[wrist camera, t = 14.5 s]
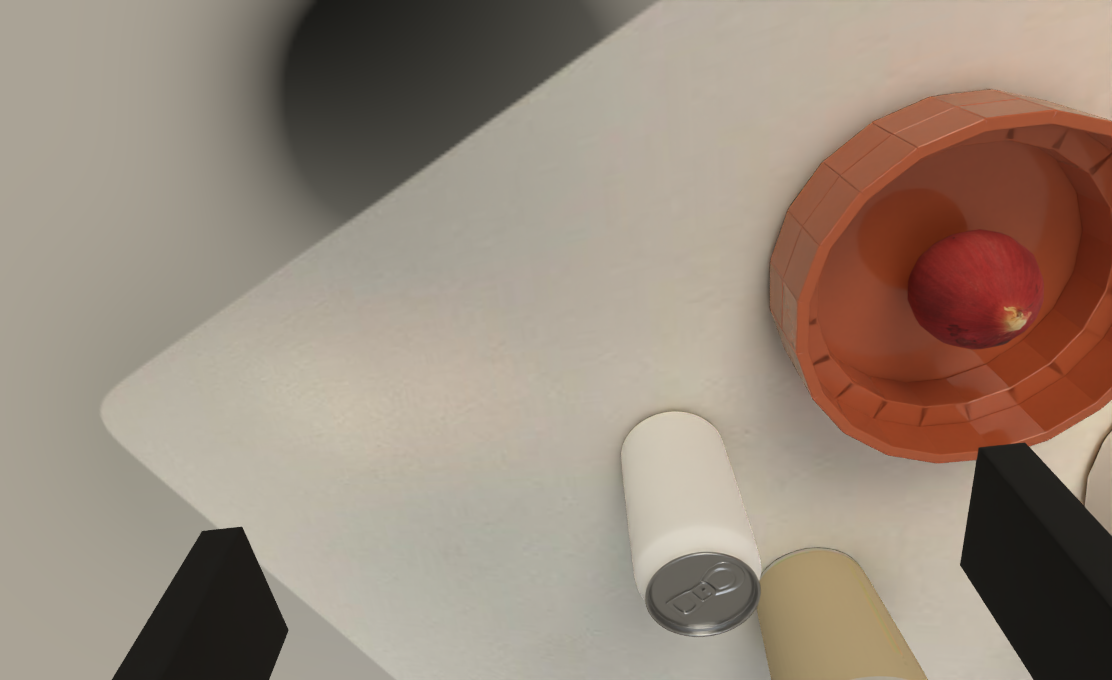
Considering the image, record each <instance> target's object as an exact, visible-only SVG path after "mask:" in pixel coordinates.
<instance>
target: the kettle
mask: <svg viewBox="0 0 1112 680" xmlns="http://www.w3.org/2000/svg"><path fill="white" fill-rule="evenodd" d="M1085 508H1086V509H1087V510H1088V511H1089V512H1090V513H1091V514H1092V515H1093V516H1094V517H1095V518H1096V519H1097V520H1098V522H1099V523H1100V524H1101V525H1102V526H1103V527H1104V528H1105V529H1106V530H1107V531H1108V532H1109V533H1110V534H1111V536H1112V431H1111V432H1110V433H1109V435H1108V436H1107V437H1106V438H1105V440H1104V442H1103V444H1102V446H1101V449H1100V451H1099V453H1098V455H1097V458H1096V460H1095V462H1094V465H1093V467H1092V469H1091V471H1090V474H1089V476H1088V481H1087V491H1086V500H1085Z"/></svg>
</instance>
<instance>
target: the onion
mask: <svg viewBox="0 0 1112 680" xmlns="http://www.w3.org/2000/svg"><path fill="white" fill-rule="evenodd" d="M1043 301H1044V280H1043V276H1042V274H1041V271H1040V269H1039V266H1038V264H1037V261H1036V259H1035V256H1034V254H1032V253H1031V252H1030V251H1029V250H1028V249H1027V248H1026V247H1024V246H1023V245H1021V244H1020V243H1019V242H1017V241H1016V240H1015V239H1013V238H1012V237H1010V236H1008V235H1005V234H1003V233H1000V232H995V231H989V230H983V229H977V230H972V231H967V232H961V233H956V234H952V235H950V236H948V237H946V238H944V239H942V240H940V241H938V242H936V243H934V244H933V245H932V246H931V247H930V248H929V249H928V250H926V251H925V252H924V253H923V254H922V255H921V256H920V257H919V258H918V260H917V262H916V264H915V266H914V268H913V269H912V271H911V273H910V276H909V280H908V302H909V304H910V307H911V309H912V311H913V314H914V316H915V318H916V320H917V321H918V323H919V325H920V326H921V327H923V328H924V329H925V330H927V331H928V332H929V333H930V334H932V335H933V336H934V337H935V338H937V339H938V340H940V341H941V342H943V343H946V344H949V345H953V346H958V347H963V348H968V349H973V350H974V349H985V348H990V347H995V346H1001V345H1004V344H1006V343H1008V342H1009V341H1011V340H1012V339H1014V338H1015V337H1017V336H1018V335H1020V334H1021V333H1023V332H1025V331H1026V329H1027V328H1028V327H1029V326H1030V325H1031V324H1032V323H1033V322H1034V321H1035V320H1036V318H1037V315H1038V313H1039V311H1040V309H1041V306H1042V304H1043Z"/></svg>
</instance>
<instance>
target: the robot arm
mask: <svg viewBox="0 0 1112 680" xmlns="http://www.w3.org/2000/svg"><path fill="white" fill-rule="evenodd" d="M960 566H961V567H962V569H963V570H964V572H965V573H966V575H967V577H968V578H969V580H970V581H971V583H972V584H973V586H974V587H975V589H976V591H977V592H978V594H979V595H980V597H981V598H982V600H983V601H984V603H985V605H986V606H987V608H988V609H989V611H990V612H991V614H992V615H993V617H994V619H995V620H996V622H997V623H998V625H999V626H1000V628H1001V630H1002V631H1003V633H1004V634H1005V636H1006V637H1007V639H1008V640H1009V642H1010V644H1011V645H1012V647H1013V648H1014V650H1015V651H1016V653H1017V654H1018V656H1019V658H1020V659H1021V661H1022V662H1023V664H1024V665H1025V667H1026V668H1027V670H1028V672H1029V673H1030V675H1031V676H1032V678H1033V679H1034V680H1112V536H1111V534H1110V533H1109V532H1108V531H1107V530H1106V529H1105V528H1104V527H1103V526H1102V525H1101V524H1100V523H1099V522H1098V520H1097V519H1096V518H1095V517H1094V516H1093V515H1092V514H1091V513H1090V512H1089V511H1088V510H1087V509H1086V508H1085V506H1084V505H1083V504H1082V503H1081V502H1080V501H1079V500H1078V499H1077V498H1076V497H1075V496H1074V495H1073V494H1072V492H1071V491H1070V490H1069V489H1068V488H1067V487H1066V486H1065V485H1064V484H1063V483H1062V482H1061V481H1060V480H1059V478H1058V477H1057V476H1056V475H1055V474H1054V473H1053V472H1052V471H1051V470H1050V469H1049V468H1048V467H1047V466H1046V464H1045V463H1044V462H1043V461H1042V460H1041V459H1040V458H1039V457H1038V456H1037V455H1036V454H1035V453H1034V452H1033V450H1032V449H1031V448H1030V447H1029V446H1028V445H1027V444H1026V443H1025V442H1024V443H1014V444H1005V445H996V446H986V447H979V448H978V455H977V461H976V467H975V474H974V480H973V486H972V493H971V499H970V505H969V512H968V518H967V525H966V531H965V537H964V544H963V550H962V556H961V563H960ZM287 633H288V628H287V626H286V623H285V621H284V619H283V617H282V614H281V612H280V610H279V608H278V605H277V603H276V601H275V599H274V597H273V594H272V592H271V590H270V588H269V585H268V583H267V581H266V579H265V577H264V574H263V572H262V570H261V568H260V565H259V563H258V561H257V559H256V557H255V554H254V552H253V550H252V548H251V545H250V543H249V541H248V539H247V536H246V534H245V532H244V530H243V528H242V527H235V528H226V529H216V530H208V531H202V532H201V534H200V536H199V537H198V539H197V541H196V542H195V544H194V546H193V547H192V549H191V550H190V552H189V554H188V555H187V557H186V559H185V560H184V562H183V564H182V565H181V567H180V569H179V570H178V572H177V573H176V575H175V577H174V578H173V580H172V582H171V583H170V585H169V587H168V588H167V590H166V591H165V593H164V595H163V597H162V598H161V600H160V601H159V603H158V605H157V606H156V608H155V610H154V611H153V613H152V615H151V616H150V618H149V619H148V621H147V623H146V625H145V626H144V628H143V629H142V631H141V633H140V634H139V636H138V638H137V639H136V641H135V642H134V644H133V646H132V647H131V649H130V651H129V652H128V654H127V656H126V657H125V659H124V661H123V662H122V664H121V666H120V667H119V669H118V670H117V672H116V674H115V675H114V677H113V679H112V680H269V678H270V676H271V673H272V671H273V668H274V666H275V663H276V661H277V658H278V656H279V653H280V651H281V648H282V646H283V643H284V641H285V638H286V635H287Z"/></svg>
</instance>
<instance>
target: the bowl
mask: <svg viewBox="0 0 1112 680" xmlns="http://www.w3.org/2000/svg"><path fill="white" fill-rule="evenodd" d="M788 210H789V211H787V214H786V217H785V219H784V222H783V225H782V228H781V231H780V234H779V237H778V240H777V242H776V245H775V248H774V251H773V254H772V257H771V261H770V311H771V314H772V316H773V319H774V322H775V325H776V327H777V330H778V333H779V335H780V338H781V341H782V343H783V346H784V349H785V351H786V352H787V354H788V356H789V358H790V360H791V361H792V363H793V365H794V367H795V369H796V370H797V372H798V374H799V376H800V377H801V379H802V381H803V383H804V385H805V386H806V388H807V390H808V392H809V394H810V395H811V397H812V399H813V400H814V401H815V402H816V403H817V405H818V406H819V407H820V408H821V409H822V410H823V411H824V412H825V413H826V414H827V415H828V417H829V418H830V419H831V420H832V421H833V422H834V423H835V424H836V425H837V426H838V428H839V429H840V430H841V431H842V432H844V433H845V434H847V435H849V436H850V437H852V438H854V439H856V440H858V441H860V442H862V443H864V444H866V445H868V446H870V447H872V448H874V449H876V450H878V451H880V452H882V453H884V454H886V455H889V456H895V457H901V458H907V459H913V460H919V461H925V462H931V463H949V462H960V461H970V460H977V455H978V448H979V447H986V446H996V445H1005V444H1014V443H1024V442H1025V443H1026V444H1027V445H1028V446H1032V445H1035V444H1038V443H1041V442H1044V441H1047V440H1049V439H1051V438H1053V437H1055V436H1056V435H1058V434H1060V433H1062V432H1063V431H1065V430H1067V429H1068V428H1070V427H1072V426H1073V425H1075V424H1077V423H1078V422H1080V421H1082V420H1084V419H1085V418H1087V417H1089V416H1090V415H1092V414H1094V413H1095V412H1097V411H1099V410H1100V409H1102V408H1103V407H1104V406H1105V405H1106V404H1107V403H1109V402H1110V401H1111V400H1112V121H1111V120H1108V119H1105V118H1102V117H1098V116H1095V115H1092V114H1088V113H1085V112H1082V111H1078V110H1075V109H1072V108H1069V107H1065V106H1062V105H1059V104H1056V103H1052V102H1049V101H1046V100H1041V99H1036V98H1032V97H1027V96H1022V95H1018V94H1013V93H1008V92H1003V91H999V90H991V89H987V90H979V91H971V92H963V93H955V94H947V95H939V96H932V97H928V98H926V99H924V100H921V101H919V102H917V103H914V104H912V105H910V106H908V107H905V108H903V109H901V110H898V111H896V112H894V113H891V114H889V115H887V116H885V117H882V118H880V119H878V120H875V121H873V122H872V123H871V124H869V125H868V126H867V127H865V128H864V129H863V130H862V131H860V132H859V133H858V134H857V135H855V136H854V137H853V138H852V139H850V140H849V141H848V142H847V143H845V144H844V145H843V146H842V147H841V148H839V149H838V150H837V151H836V152H834V153H833V154H832V155H831V156H829V157H828V158H827V159H826V160H824V161H823V162H822V163H821V164H820V166H819V167H818V168H817V170H816V171H815V172H814V174H813V175H812V177H811V178H810V179H809V181H808V182H807V184H806V185H805V186H804V188H803V189H802V190H801V192H800V193H799V195H798V196H797V197H796V199H795V200H794V202H793V203H792V204H791V206H790V207H789V209H788ZM977 229H983V230H989V231H995V232H1000V233H1003V234H1005V235H1008V236H1010V237H1012V238H1013V239H1015V240H1016V241H1017V242H1019V243H1020V244H1021V245H1023V246H1024V247H1026V248H1027V249H1028V250H1029V251H1030V252H1031V253H1032V254H1034V256H1035V259H1036V261H1037V264H1038V266H1039V269H1040V271H1041V274H1042V276H1043V280H1044V301H1043V304H1042V306H1041V309H1040V311H1039V313H1038V315H1037V318H1036V320H1035V321H1034V322H1033V323H1032V324H1031V325H1030V326H1029V327H1028V328H1027V329H1026V331H1025V332H1023V333H1021V334H1020V335H1018V336H1017V337H1015V338H1014V339H1012V340H1011V341H1009V342H1008V343H1006V344H1004V345H1001V346H995V347H990V348H985V349H974V350H973V349H968V348H963V347H958V346H953V345H949V344H946V343H943V342H941V341H940V340H938V339H937V338H935V337H934V336H933V335H932V334H930V333H929V332H928V331H927V330H925V329H924V328H923V327H921V326H920V325H919V323H918V321H917V320H916V318H915V316H914V314H913V311H912V309H911V307H910V304H909V302H908V280H909V276H910V273H911V271H912V269H913V268H914V266H915V264H916V262H917V260H918V258H919V257H920V256H921V255H922V254H923V253H924V252H925V251H926V250H928V249H929V248H930V247H931V246H932V245H933V244H934V243H936V242H938V241H940V240H942V239H944V238H946V237H948V236H950V235H952V234H956V233H961V232H967V231H972V230H977Z"/></svg>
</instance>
